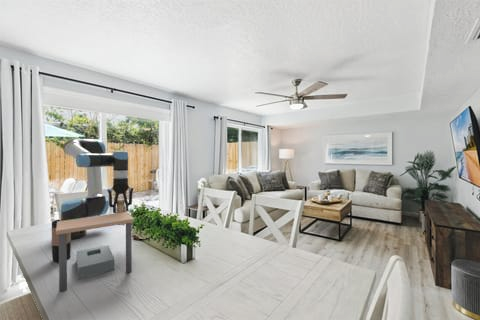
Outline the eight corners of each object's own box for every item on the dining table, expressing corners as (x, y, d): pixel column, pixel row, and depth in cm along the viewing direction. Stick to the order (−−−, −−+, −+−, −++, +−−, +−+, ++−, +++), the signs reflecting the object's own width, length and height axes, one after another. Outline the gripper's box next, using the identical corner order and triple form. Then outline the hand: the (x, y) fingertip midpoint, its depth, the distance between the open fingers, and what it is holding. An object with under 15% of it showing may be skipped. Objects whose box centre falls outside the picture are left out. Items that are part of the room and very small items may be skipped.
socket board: (76, 261, 114) (76, 251, 113) (108, 254, 122) (108, 245, 122) (78, 279, 98) (77, 268, 98) (114, 269, 106) (114, 259, 106)
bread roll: (131, 236, 148) (132, 228, 148) (148, 235, 155) (149, 227, 155) (135, 242, 139) (136, 234, 139) (153, 240, 146) (154, 233, 146)
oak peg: (116, 223, 130) (116, 199, 130) (123, 222, 133) (123, 199, 132) (117, 225, 127) (117, 201, 127) (125, 224, 130) (125, 200, 129)
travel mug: (60, 263, 111) (59, 223, 110) (47, 262, 112) (47, 222, 112) (74, 256, 118) (74, 219, 118) (62, 255, 120) (62, 218, 119)
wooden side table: (57, 276, 99) (57, 221, 99) (127, 259, 116) (127, 211, 116) (56, 293, 88) (55, 230, 87) (133, 271, 105) (133, 218, 104)
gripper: (104, 179, 121) (104, 222, 122) (138, 177, 131) (137, 217, 132) (102, 177, 127) (102, 218, 128) (135, 176, 137) (134, 214, 138)
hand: (120, 217), depth 130 cm, fingers closed on oak peg, 4 cm apart
